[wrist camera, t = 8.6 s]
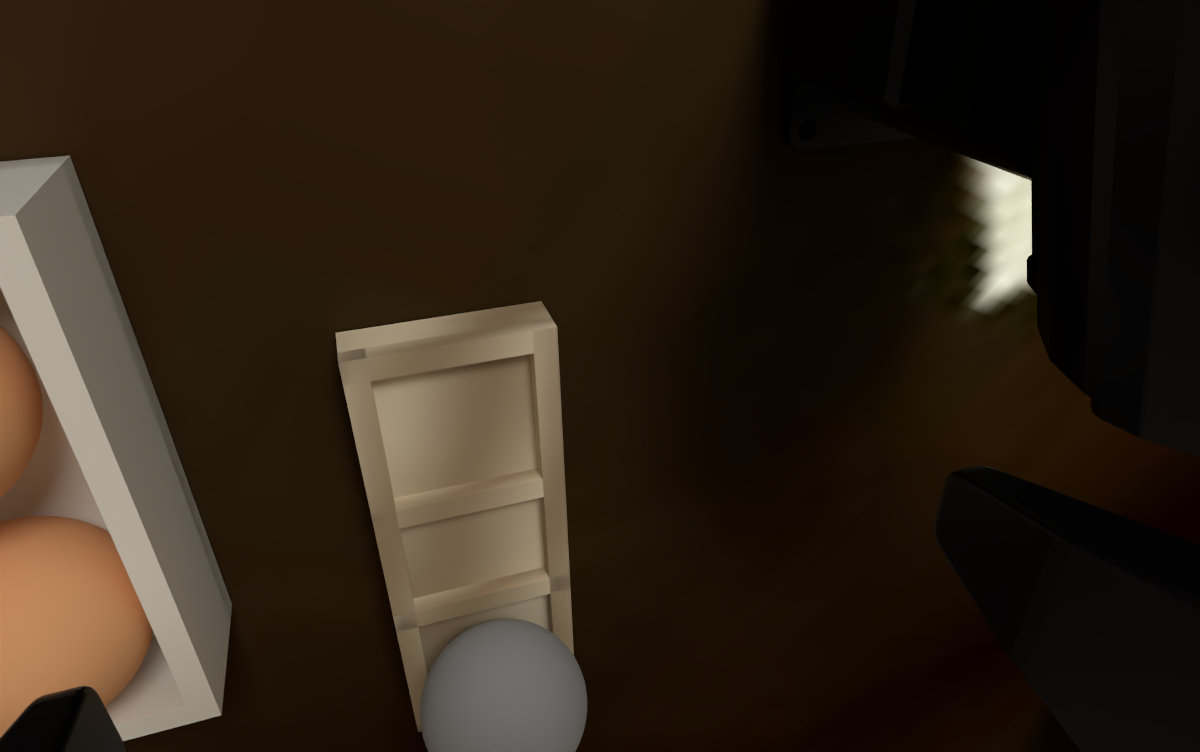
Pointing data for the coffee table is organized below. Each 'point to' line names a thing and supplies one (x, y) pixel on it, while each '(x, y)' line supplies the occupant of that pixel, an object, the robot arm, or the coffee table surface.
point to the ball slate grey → (504, 692)
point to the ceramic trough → (108, 443)
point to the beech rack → (462, 473)
